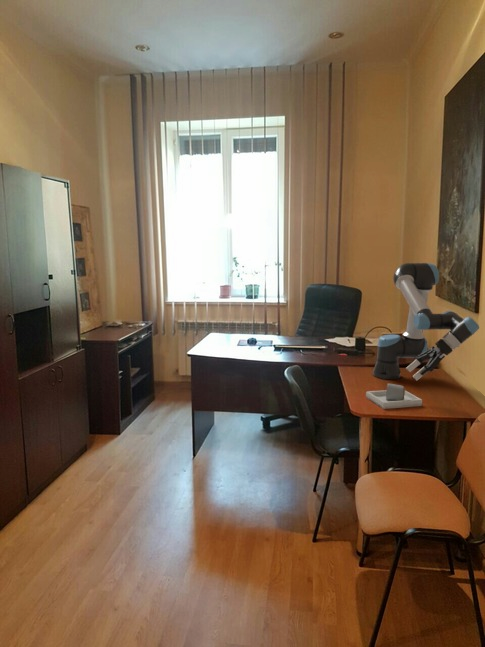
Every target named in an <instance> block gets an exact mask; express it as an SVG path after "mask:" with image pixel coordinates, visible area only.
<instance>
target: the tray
mask: <svg viewBox="0 0 485 647" xmlns="http://www.w3.org/2000/svg"><path fill="white" fill-rule="evenodd" d="M386 390H387V389H385V390H371V391H370V390H368V391H366V392H365V398H366V399H367V400H369V401H371V403H373V404H375V405H376V406H378V407H380V408H381V409H383V410H387V409H389V410H390V409H397V408H398V409H399V408H412V407H414V408H415V407H422V406H423V399H422V398H420V397H417V396H416V395H415V394H412V393H411V392H409V391H407V390H405V395H404V400H402V401H397V400H387V399H386Z"/></svg>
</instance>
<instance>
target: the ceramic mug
mask: <svg viewBox="0 0 485 647" xmlns="http://www.w3.org/2000/svg"><path fill="white" fill-rule="evenodd" d="M385 390H386V399H387V400H397V401H402V400H404V395H405V391H406V388H405V386H403V385H400V384H393V383H387V385H386V389H385Z"/></svg>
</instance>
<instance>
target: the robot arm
mask: <svg viewBox="0 0 485 647" xmlns="http://www.w3.org/2000/svg"><path fill="white" fill-rule="evenodd" d="M439 280H440V273H439V269H438V267H437V266H436V264H433V263H429V262H428V263H427V262H414V263H413V262H404V263H403V264H401V265H399V266H398V267H397V268H396V270H395V271H394V274H393V282H394V285H395V287H396V288H397V289H398V290H400V292H401V293H402V296H403V297H404V299H405V301H406V303H407V304H408V306H409V310H408V317H407V324H406V330H405V331H404V332H403V333H402V337H401V336H400V335H399V334H391V333H390V334H384V335H381V336H379V338H378V340H377V352H376V353H377V354H376V362H375V365H374V368H373V370H372V375H373V377H376V378H379V379H383V380H397V379H400V378H401V370H400V369H401V368H400V366H399V359H414V361H413V362H411V363H410V364H409V365H408V366H407V367H405V369H406V370H407V371H408V372H409V373H411V372H413V371H414V370H415V369H416V368H417V367H418V366H420V365H421V364H423V362H425V361H427V360H428V362H427V363H426V365H425V364H424V365H423V367H421V369H419V370H418V371H417V372H415V373H414V374H413V375H412V377H413V379H414V380H415V381H418V380H420V379H421V378H422V377H423V376H424V375H426V374H427V373H428V372H429V373H430V372H431V373H432V372H433V371H434V370H435V369H436V368H437V366H438V365H439V364H440V363H441V361H442V360H443V359H444V358H445V357H446V356H449V355H450V354H451V353H452V352H454V350H456V349H457V348H459V347H460V345H462V344H463V343H464V342H466V341H467V340H468V339H469V338H470V337H472V336H473V335H475V334H476V332H478V330H479V329H480V325H479V324H478V322H476V320H475V319H473V317H470V316H466V317H464V318H463V317H461V316H460V315H459V314H458V313H456V312H454V311H452V310H446V311H445V312H443V313H433V312H432V310H431V309H430V306H428V300H429V293H430V292H431V291H432V290H433V287H434V286H436V285H437V284H438V283H439ZM429 330H430V331H431V330H434V331H435V330H449V331H448V332H447V333H446V334H444V335H443V336H442V338H440V339H438V341H436V342H435V343H434V344H435V346H436V347H435V346H434V345H433V346H431V347H430V348H429V349H428V340H427V339H426V337H425V335H424V333H423V331H429Z"/></svg>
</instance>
